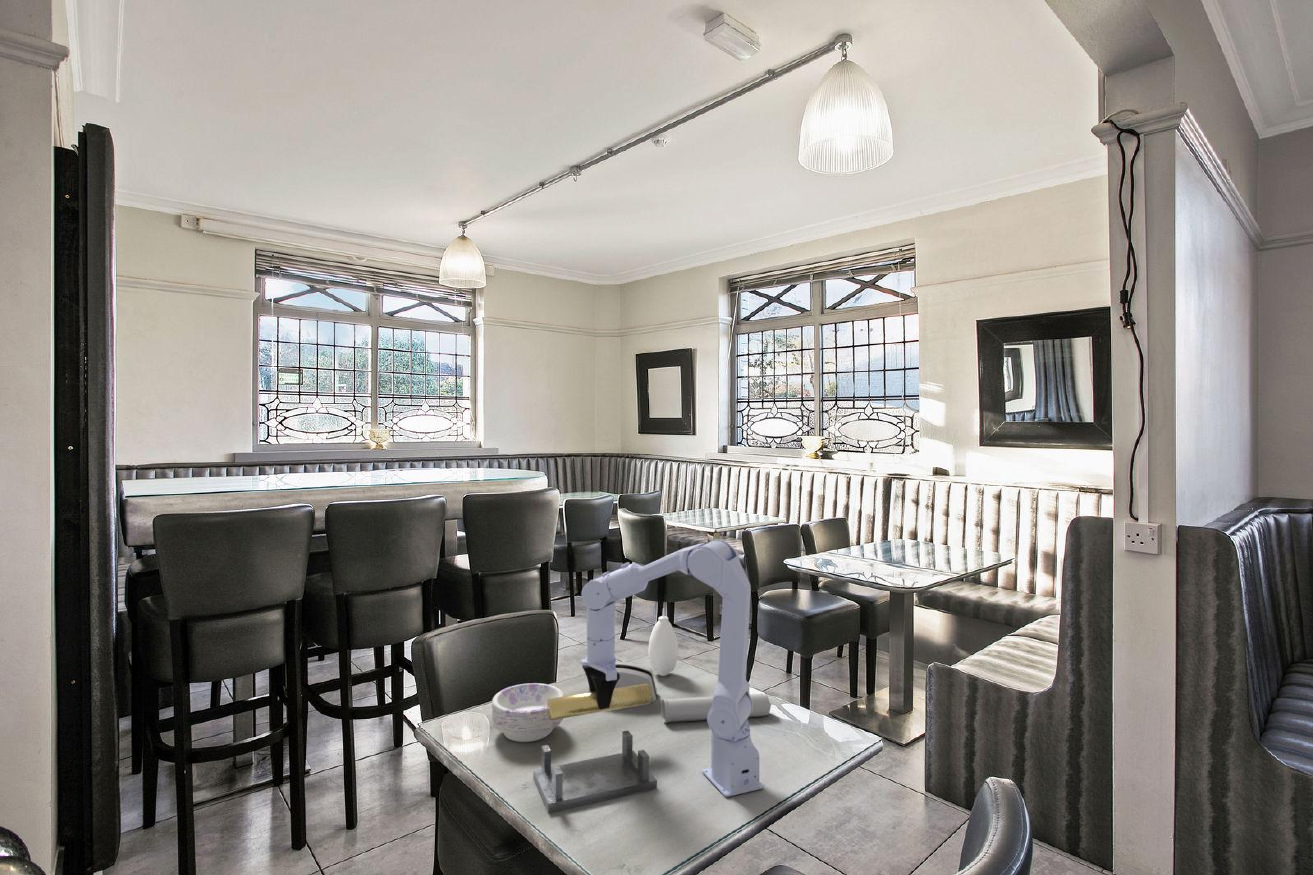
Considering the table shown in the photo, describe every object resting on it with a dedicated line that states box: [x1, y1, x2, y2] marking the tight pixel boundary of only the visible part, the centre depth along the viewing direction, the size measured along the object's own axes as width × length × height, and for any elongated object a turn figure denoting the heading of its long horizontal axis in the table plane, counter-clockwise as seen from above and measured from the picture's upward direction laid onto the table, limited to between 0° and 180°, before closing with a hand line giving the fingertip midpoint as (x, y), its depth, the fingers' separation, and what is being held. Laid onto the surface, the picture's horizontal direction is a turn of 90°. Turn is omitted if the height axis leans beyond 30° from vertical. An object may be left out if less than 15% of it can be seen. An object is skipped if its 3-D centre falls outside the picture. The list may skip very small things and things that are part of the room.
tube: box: [660, 693, 772, 724], centre depth 150 cm, size 5×5×25 cm
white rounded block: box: [588, 661, 658, 703], centre depth 161 cm, size 17×5×10 cm, turn 81°
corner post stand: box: [532, 730, 658, 813], centre depth 122 cm, size 12×20×6 cm, turn 113°
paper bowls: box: [491, 682, 565, 743], centre depth 142 cm, size 15×15×8 cm
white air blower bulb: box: [648, 607, 679, 677], centre depth 176 cm, size 8×8×18 cm
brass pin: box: [547, 684, 652, 720], centre depth 135 cm, size 21×4×4 cm, turn 112°
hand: (600, 703), depth 135 cm, fingers closed on brass pin, 4 cm apart
